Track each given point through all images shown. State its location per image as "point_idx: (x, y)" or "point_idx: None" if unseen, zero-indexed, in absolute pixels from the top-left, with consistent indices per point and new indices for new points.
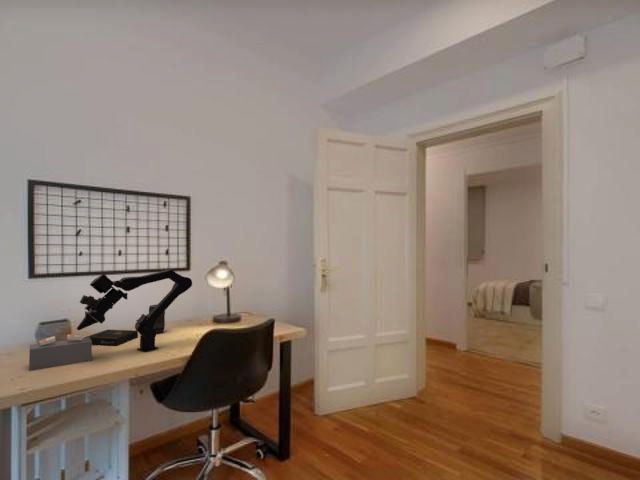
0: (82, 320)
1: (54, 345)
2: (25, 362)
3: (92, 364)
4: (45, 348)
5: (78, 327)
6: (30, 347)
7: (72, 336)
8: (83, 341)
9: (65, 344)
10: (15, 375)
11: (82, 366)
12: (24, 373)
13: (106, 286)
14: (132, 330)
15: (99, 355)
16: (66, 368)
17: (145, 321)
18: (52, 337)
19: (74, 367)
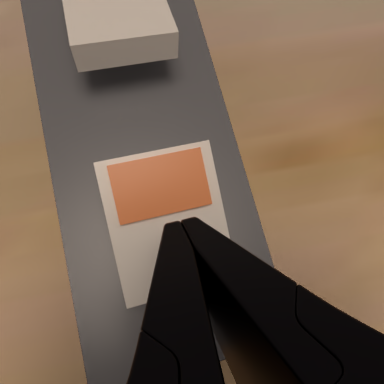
0: (281, 305)
1: (68, 87)
2: (224, 20)
3: (19, 373)
4: (29, 42)
5: (160, 246)
6: None
7: (113, 199)
8: (124, 310)
9: (64, 166)
10: (3, 17)
11: (2, 315)
12: (19, 46)
13: None
14: None
15: (233, 377)
16: (6, 226)
17: None
18: (132, 23)
19: (4, 269)
